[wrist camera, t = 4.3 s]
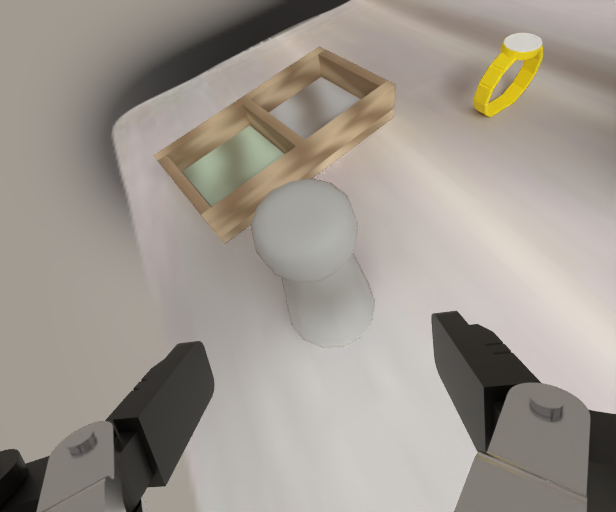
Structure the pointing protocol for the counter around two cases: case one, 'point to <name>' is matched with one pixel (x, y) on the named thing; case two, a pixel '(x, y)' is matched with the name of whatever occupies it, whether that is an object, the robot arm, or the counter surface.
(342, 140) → the tray
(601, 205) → the counter surface
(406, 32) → the counter surface
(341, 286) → the salt shaker
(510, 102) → the watch
